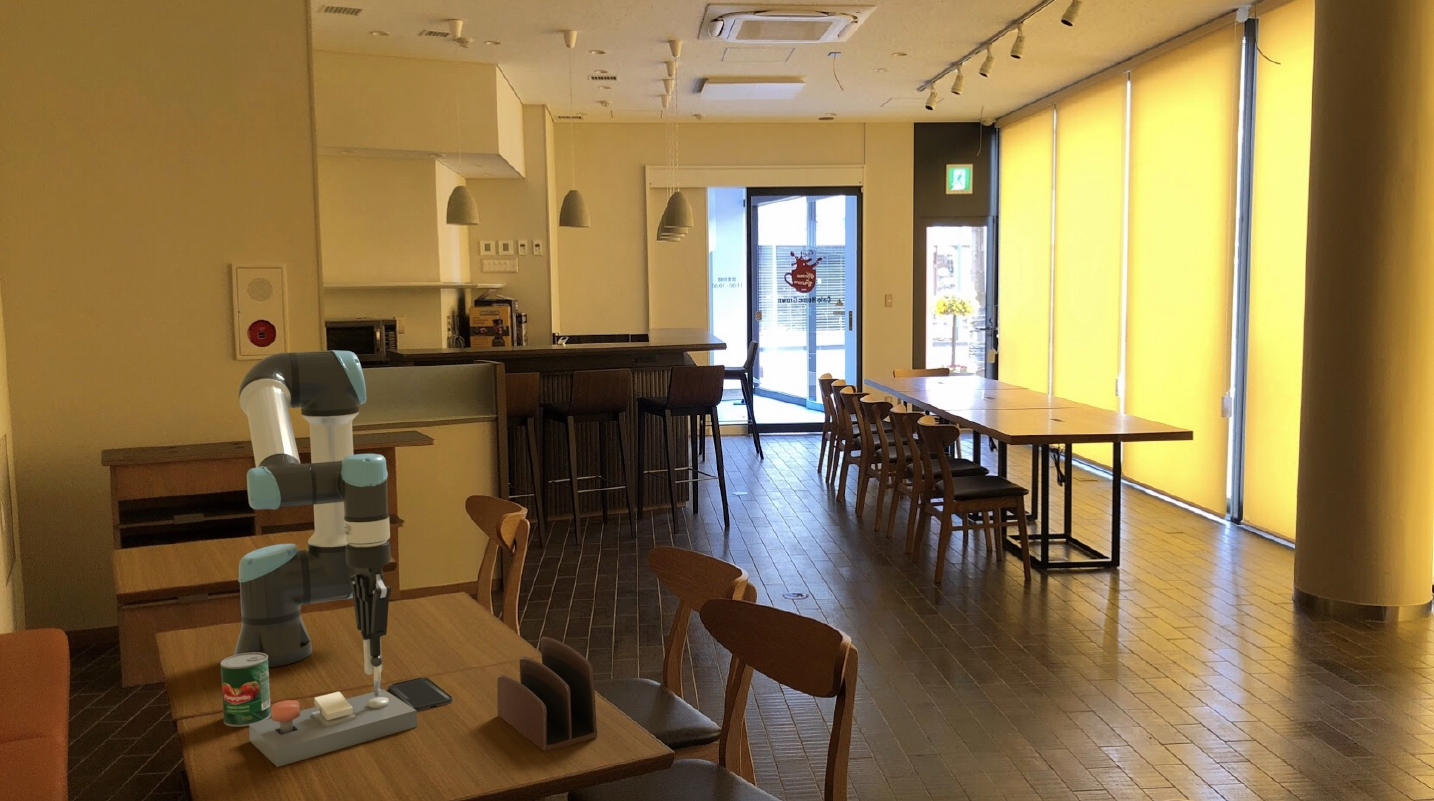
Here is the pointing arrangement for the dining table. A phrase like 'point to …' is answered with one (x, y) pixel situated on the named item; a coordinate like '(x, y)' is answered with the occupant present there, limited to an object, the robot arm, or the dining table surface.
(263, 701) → the canned tomato
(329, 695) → the rocker switch
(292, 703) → the push button
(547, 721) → the letter holder
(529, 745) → the dining table surface
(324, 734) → the control panel
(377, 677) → the toggle lever
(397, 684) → the phone
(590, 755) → the dining table surface
